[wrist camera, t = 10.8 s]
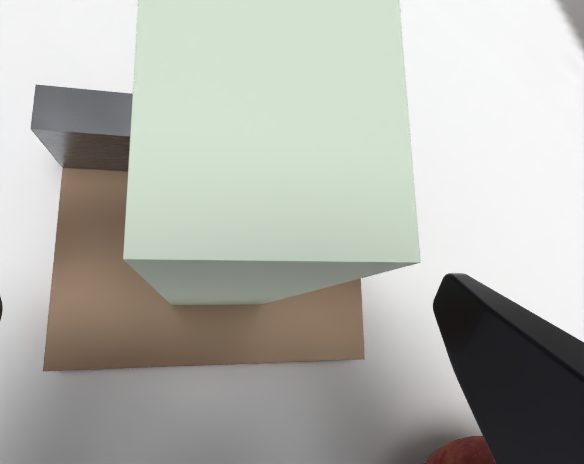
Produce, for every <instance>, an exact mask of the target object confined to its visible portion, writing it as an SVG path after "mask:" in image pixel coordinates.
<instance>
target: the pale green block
mask: <svg viewBox="0 0 584 464" xmlns="http://www.w3.org/2000/svg"><path fill="white" fill-rule="evenodd" d="M123 260H125V261H126V262H127V263H128V264H129V265H130V266H131V267H132V268H133V269H134V270H135V271H136V272H137V273H138V274H139V275H140V276H141V277H142V278H143V279H145V280H146V281H147V282H148V283H149V284H150V285H151V286H152V287H153V288H154V289H155V290H156V291H157V292H158V293H159V294H160V295H161V296H162V297H163V298H165V299H166V300H167V301H168V302H169V303H170V304H171V305H252V304H266V303H270V302H273V301H277V300H281V299H285V298H288V297H292V296H296V295H300V294H303V293H307V292H311V291H315V290H319V289H322V288H326V287H330V286H334V285H337V284H341V283H345V282H349V281H352V280H356V279H360V278H364V277H368V276H371V275H375V274H379V273H383V272H386V271H390V270H394V269H398V268H401V267H405V266H409V265H413V264H417V263H420V251H419V238H418V226H417V213H416V201H415V189H414V176H413V164H412V152H411V139H410V127H409V115H408V102H407V90H406V78H405V65H404V53H403V41H402V28H401V16H400V3H399V0H138V16H137V33H136V50H135V67H134V84H133V101H132V118H131V135H130V152H129V169H128V185H127V202H126V219H125V236H124V253H123Z"/></svg>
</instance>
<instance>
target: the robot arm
mask: <svg viewBox="0 0 584 464" xmlns="http://www.w3.org/2000/svg"><path fill="white" fill-rule="evenodd" d="M433 311H434V314H435V317H436V320H437V323H438V326H439V329H440V332H441V335H442V338H443V341H444V344H445V347H446V350H447V353H448V356H449V359H450V362H451V364H452V367H453V370H454V372H455V375H456V377H457V379H458V382H459V384H460V386H461V388H462V391H463V393H464V395H465V397H466V399H467V402H468V404H469V406H470V408H471V410H472V413H473V415H474V417H475V419H476V421H477V424H478V426H479V428H480V430H481V432H482V434H483V437H484V439H485V441H486V443H487V445H488V448H489V450H490V452H491V454H492V456H493V459H494V461H495V463H496V464H584V342H582V341H580V340H579V339H577V338H575V337H574V336H572V335H570V334H568V333H567V332H565V331H563V330H561V329H560V328H558V327H556V326H554V325H553V324H551V323H549V322H548V321H546V320H544V319H542V318H541V317H539V316H537V315H535V314H534V313H532V312H530V311H529V310H527V309H525V308H523V307H522V306H520V305H518V304H516V303H515V302H513V301H511V300H509V299H508V298H506V297H504V296H503V295H501V294H499V293H497V292H496V291H494V290H492V289H490V288H489V287H487V286H485V285H483V284H482V283H480V282H478V281H477V280H475V279H473V278H471V277H470V276H468V275H466V274H462V273H449V274H446V275H445V276H444V278H443V279H442V282H441V284H440V287H439V289H438V291H437V294H436V296H435V299H434V302H433ZM1 316H2V301H1V297H0V320H1Z"/></svg>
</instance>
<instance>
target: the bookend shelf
mask: <svg viewBox="0 0 584 464" xmlns="http://www.w3.org/2000/svg"><path fill="white" fill-rule="evenodd" d="M132 101H133V94H128V93H118V92H107V91H97V90H86V89H76V88H66V87H55V86H45V85H36V87H35V96H34V104H33V113H32V122H31V130H32V131H33V132H34V134H35V135H36V136H37V137H38V138H39V140H40V141H41V142H42V143H43V145H44V146H45V147H46V148H47V149H48V151H49V152H50V153H51V154H52V155H53V157H54V158H55V159H56V160H57V162H58V163H59V164H60V165H61V166H62V168H63V170H62V181H61V191H60V201H59V212H58V222H57V232H56V243H55V253H54V263H53V274H52V284H51V294H50V305H49V315H48V325H47V336H46V346H45V356H44V367H43V371H61V370H88V369H115V368H142V367H168V366H195V365H222V364H249V363H276V362H303V361H330V360H356V359H364V340H363V319H362V298H361V278H360V279H356V280H352V281H349V282H345V283H341V284H337V285H334V286H330V287H326V288H322V289H319V290H315V291H311V292H307V293H303V294H300V295H296V296H292V297H288V298H285V299H281V300H277V301H273V302H270V303H266V304H252V305H171V304H170V303H169V302H168V301H167V300H166V299H165V298H163V297H162V296H161V295H160V294H159V293H158V292H157V291H156V290H155V289H154V288H153V287H152V286H151V285H150V284H149V283H148V282H147V281H146V280H145V279H143V278H142V277H141V276H140V275H139V274H138V273H137V272H136V271H135V270H134V269H133V268H132V267H131V266H130V265H129V264H128V263H127V262H126V261H125V260H123V253H124V236H125V219H126V202H127V185H128V169H129V152H130V135H131V118H132Z"/></svg>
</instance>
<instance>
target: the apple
mask: <svg viewBox="0 0 584 464" xmlns="http://www.w3.org/2000/svg"><path fill="white" fill-rule="evenodd" d="M425 464H496V463H495V461H494V459H493V456H492V454H491V452H490V450H489V448H488V445H487V443H486V441H485V439H484V437H483V436H471V437H466V438H462V439H459V440H455V441H453V442H450V443H448V444H446V445H445V446H443V447H442V448H440V449H439V450H437V451H436V452H435V453H433V454H432V455H431V456H430V457H429V459H428V460H427V461H426V462H425Z"/></svg>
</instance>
